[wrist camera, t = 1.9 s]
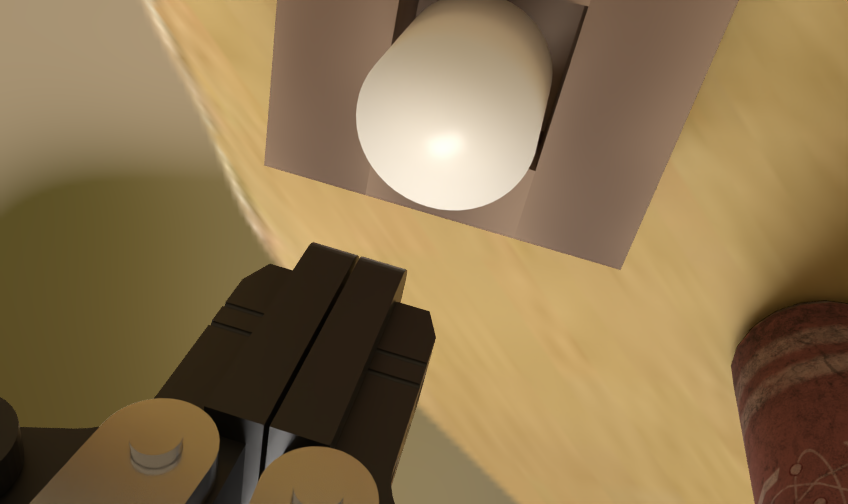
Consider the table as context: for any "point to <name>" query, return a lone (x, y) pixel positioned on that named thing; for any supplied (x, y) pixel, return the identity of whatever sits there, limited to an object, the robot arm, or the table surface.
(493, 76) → the offwhite button
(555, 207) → the button panel
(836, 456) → the can
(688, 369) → the table surface
